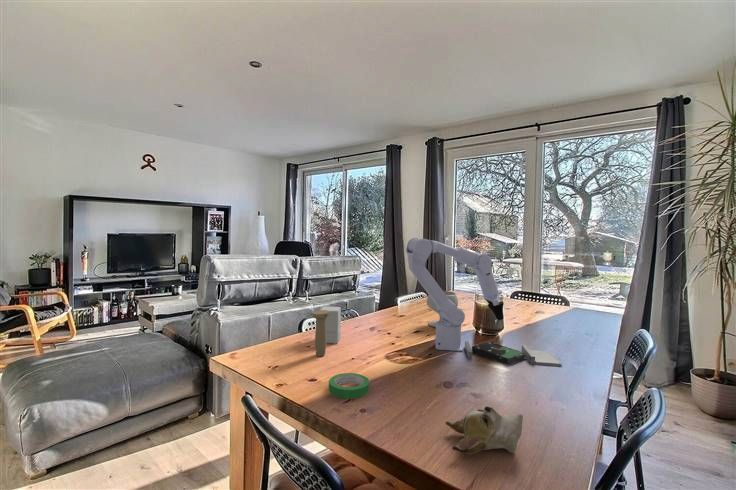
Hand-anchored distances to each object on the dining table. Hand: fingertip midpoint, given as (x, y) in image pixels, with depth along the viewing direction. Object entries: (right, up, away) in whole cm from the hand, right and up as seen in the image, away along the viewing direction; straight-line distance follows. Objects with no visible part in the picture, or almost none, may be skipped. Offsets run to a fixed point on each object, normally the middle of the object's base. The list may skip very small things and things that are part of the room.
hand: (498, 315), depth 138 cm
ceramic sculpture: (-26, -15, -64) cm, 71 cm away
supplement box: (-65, -10, +1) cm, 66 cm away
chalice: (-17, -10, +26) cm, 32 cm away
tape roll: (-56, -13, -40) cm, 69 cm away
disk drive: (-4, -13, -11) cm, 17 cm away
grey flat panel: (0, -12, -12) cm, 17 cm away
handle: (-67, -11, -15) cm, 69 cm away
